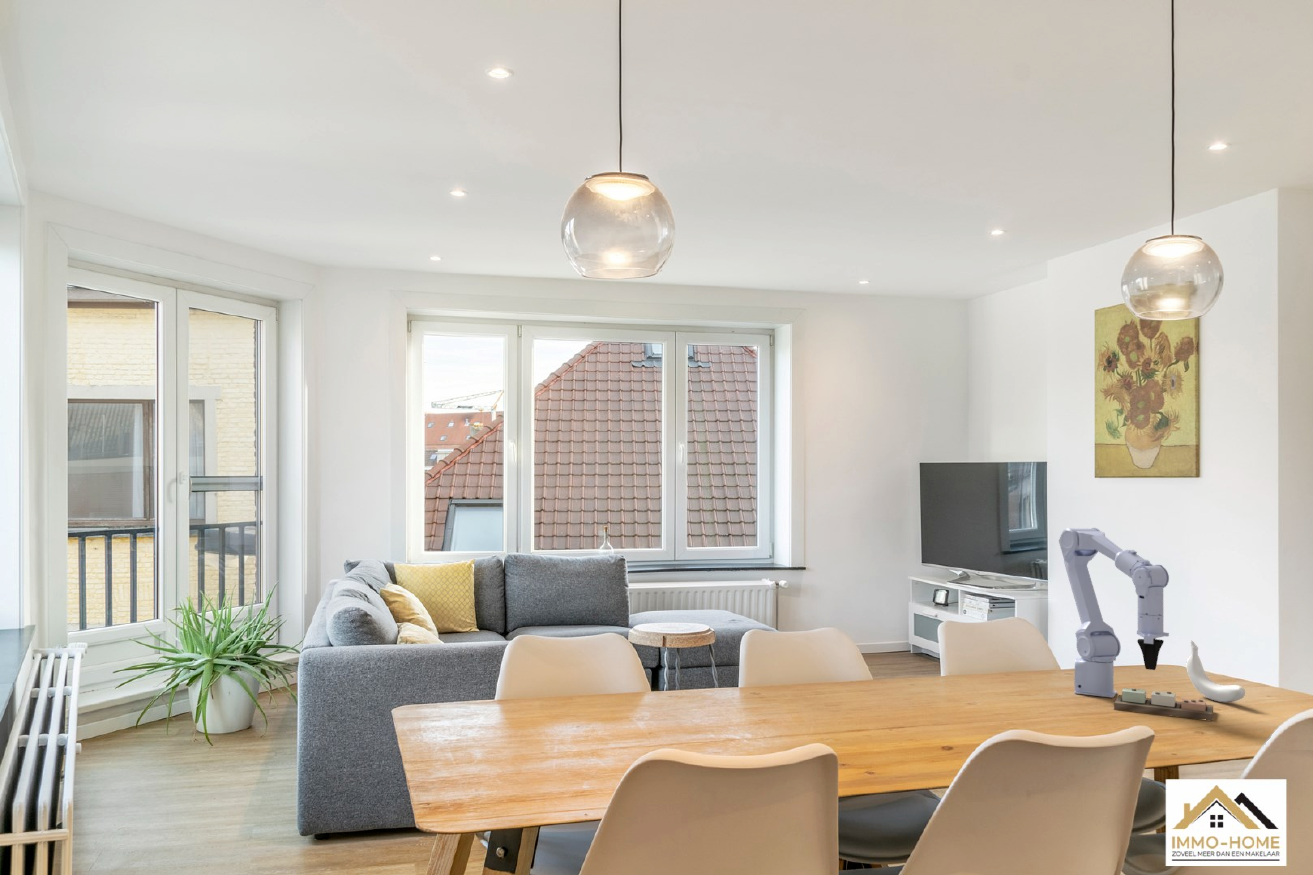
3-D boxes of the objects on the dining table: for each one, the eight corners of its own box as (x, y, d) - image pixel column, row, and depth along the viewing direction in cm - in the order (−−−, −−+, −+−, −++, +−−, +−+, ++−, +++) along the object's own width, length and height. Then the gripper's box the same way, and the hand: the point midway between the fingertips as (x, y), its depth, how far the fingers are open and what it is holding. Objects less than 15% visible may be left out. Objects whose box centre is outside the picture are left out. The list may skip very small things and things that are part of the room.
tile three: (1181, 712, 236) (1181, 701, 236) (1182, 708, 240) (1182, 697, 240) (1205, 715, 233) (1205, 703, 233) (1205, 711, 238) (1205, 699, 238)
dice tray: (1114, 709, 241) (1114, 702, 241) (1118, 700, 250) (1118, 694, 250) (1212, 720, 230) (1211, 714, 230) (1213, 711, 239) (1213, 705, 239)
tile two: (1151, 704, 239) (1151, 693, 239) (1152, 700, 243) (1152, 689, 244) (1174, 706, 237) (1174, 695, 237) (1175, 702, 241) (1175, 691, 241)
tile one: (1122, 700, 243) (1121, 689, 243) (1124, 697, 247) (1124, 686, 247) (1144, 703, 240) (1144, 692, 240) (1146, 699, 244) (1146, 688, 244)
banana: (1240, 710, 242) (1239, 650, 242) (1180, 694, 260) (1179, 638, 261) (1256, 709, 243) (1255, 650, 244) (1195, 693, 261) (1194, 638, 262)
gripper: (1167, 618, 234) (1167, 675, 234) (1170, 612, 247) (1170, 666, 246) (1134, 616, 238) (1134, 672, 237) (1139, 609, 250) (1139, 663, 250)
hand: (1150, 669), depth 242 cm, fingers closed
